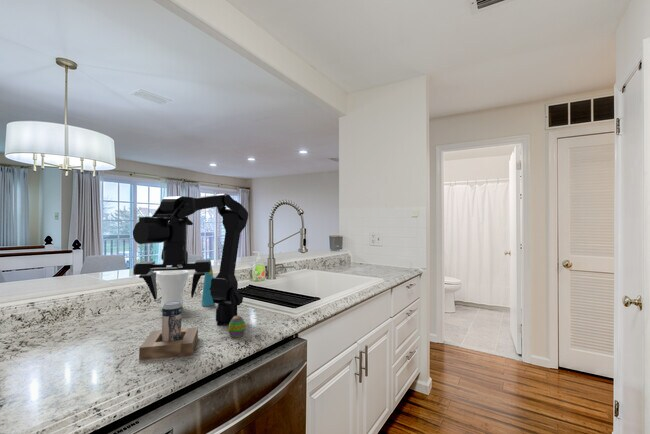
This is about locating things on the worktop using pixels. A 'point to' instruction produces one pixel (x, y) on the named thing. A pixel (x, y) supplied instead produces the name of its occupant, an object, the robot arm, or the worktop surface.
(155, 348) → the socket
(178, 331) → the beer can
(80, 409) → the worktop surface
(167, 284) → the cup
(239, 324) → the egg
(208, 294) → the tube
